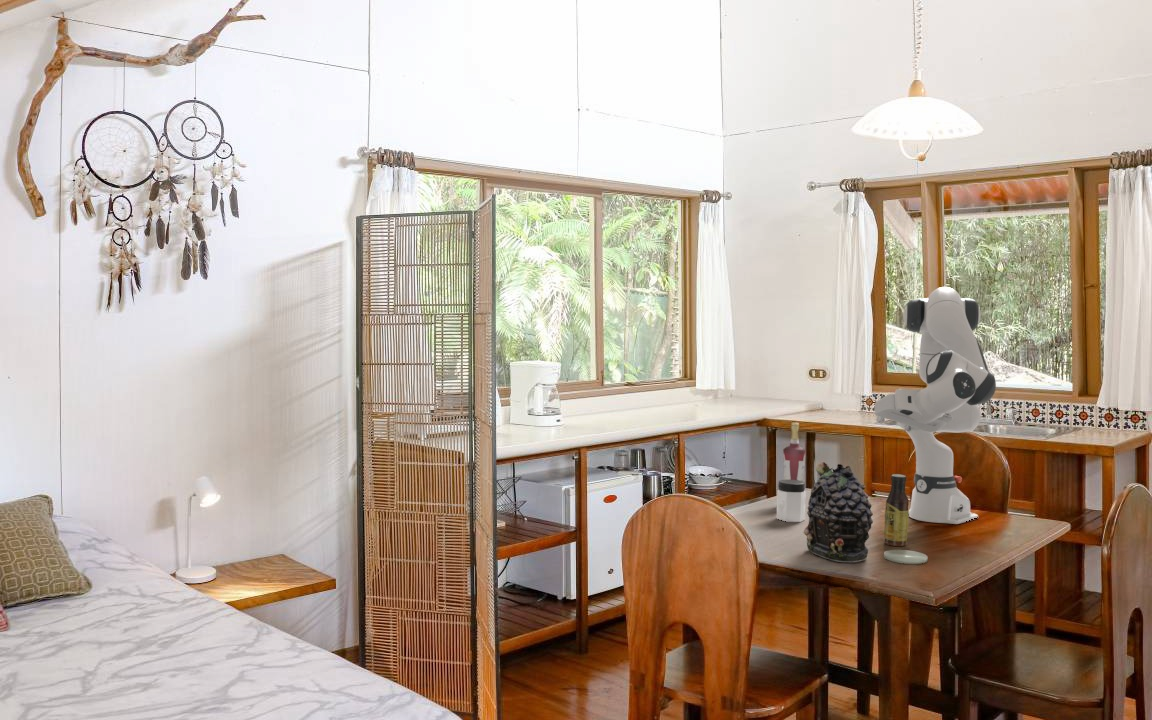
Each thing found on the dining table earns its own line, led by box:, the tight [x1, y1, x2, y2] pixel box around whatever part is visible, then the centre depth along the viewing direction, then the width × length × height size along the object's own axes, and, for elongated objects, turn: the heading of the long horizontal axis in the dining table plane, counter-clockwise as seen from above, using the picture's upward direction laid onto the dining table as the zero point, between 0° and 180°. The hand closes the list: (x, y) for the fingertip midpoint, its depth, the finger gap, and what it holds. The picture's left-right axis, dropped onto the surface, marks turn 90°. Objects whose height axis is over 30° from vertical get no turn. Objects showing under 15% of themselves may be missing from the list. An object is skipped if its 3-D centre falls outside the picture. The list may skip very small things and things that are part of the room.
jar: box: [776, 479, 807, 523], centre depth 302 cm, size 9×8×12 cm
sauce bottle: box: [883, 473, 910, 547], centre depth 271 cm, size 7×6×20 cm
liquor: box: [782, 422, 806, 482], centre depth 323 cm, size 7×7×28 cm
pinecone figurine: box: [802, 461, 874, 563], centre depth 257 cm, size 21×15×25 cm
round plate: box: [883, 549, 928, 565], centre depth 256 cm, size 11×11×1 cm
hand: (892, 424), depth 273 cm, fingers open, 8 cm apart
